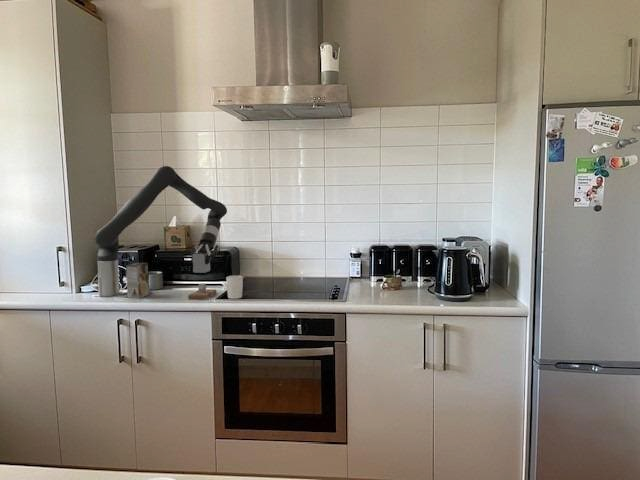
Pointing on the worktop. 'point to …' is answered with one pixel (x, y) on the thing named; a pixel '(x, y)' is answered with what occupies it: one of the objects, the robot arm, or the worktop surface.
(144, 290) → the coffee box
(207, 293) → the post block
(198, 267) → the socket
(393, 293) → the worktop surface
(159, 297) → the worktop surface
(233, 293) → the white cup
